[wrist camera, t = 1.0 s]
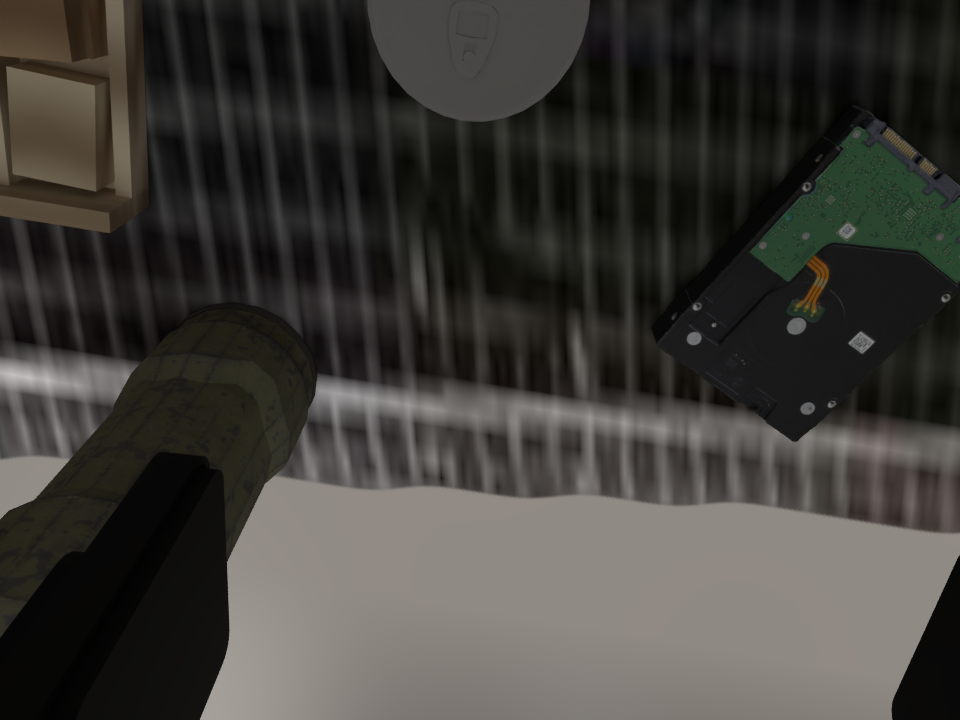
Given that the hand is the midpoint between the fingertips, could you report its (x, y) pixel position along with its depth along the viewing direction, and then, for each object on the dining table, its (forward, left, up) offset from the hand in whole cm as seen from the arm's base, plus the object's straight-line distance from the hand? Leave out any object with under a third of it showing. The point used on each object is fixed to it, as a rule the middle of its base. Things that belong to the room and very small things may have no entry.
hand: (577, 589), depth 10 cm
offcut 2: (+4, -22, -32) cm, 39 cm away
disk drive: (+6, +16, -33) cm, 37 cm away
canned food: (-5, -3, -33) cm, 33 cm away
